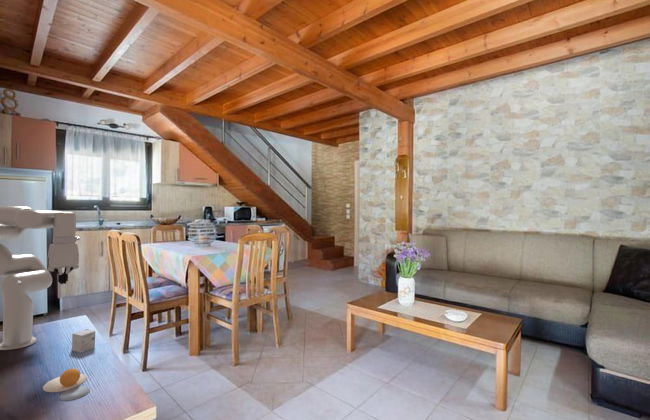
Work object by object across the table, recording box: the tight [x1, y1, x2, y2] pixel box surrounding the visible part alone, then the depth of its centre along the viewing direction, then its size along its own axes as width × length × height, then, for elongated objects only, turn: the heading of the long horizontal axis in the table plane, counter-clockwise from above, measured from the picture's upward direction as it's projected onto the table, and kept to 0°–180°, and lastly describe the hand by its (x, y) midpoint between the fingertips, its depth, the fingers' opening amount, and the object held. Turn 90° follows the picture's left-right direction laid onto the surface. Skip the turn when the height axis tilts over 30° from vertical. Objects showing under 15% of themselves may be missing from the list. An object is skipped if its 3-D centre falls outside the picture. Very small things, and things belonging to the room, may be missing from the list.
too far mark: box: [59, 386, 91, 402], centre depth 107 cm, size 8×8×1 cm
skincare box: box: [71, 328, 96, 353], centre depth 140 cm, size 6×6×7 cm
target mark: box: [42, 373, 88, 393], centre depth 113 cm, size 12×12×1 cm
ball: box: [59, 368, 81, 387], centre depth 111 cm, size 6×6×6 cm
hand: (62, 283), depth 137 cm, fingers closed
